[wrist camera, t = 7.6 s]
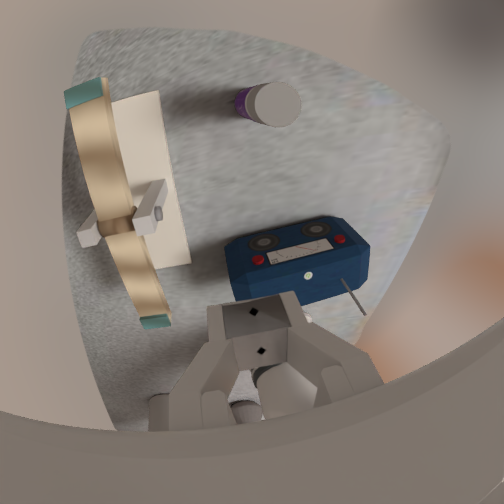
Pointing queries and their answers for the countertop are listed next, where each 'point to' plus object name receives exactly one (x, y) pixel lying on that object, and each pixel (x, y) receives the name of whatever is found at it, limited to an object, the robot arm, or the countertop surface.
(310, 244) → the radio
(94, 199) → the beam
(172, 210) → the stand
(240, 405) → the coffee pot
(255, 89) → the container
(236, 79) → the countertop surface
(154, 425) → the cylinder vase
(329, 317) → the countertop surface
